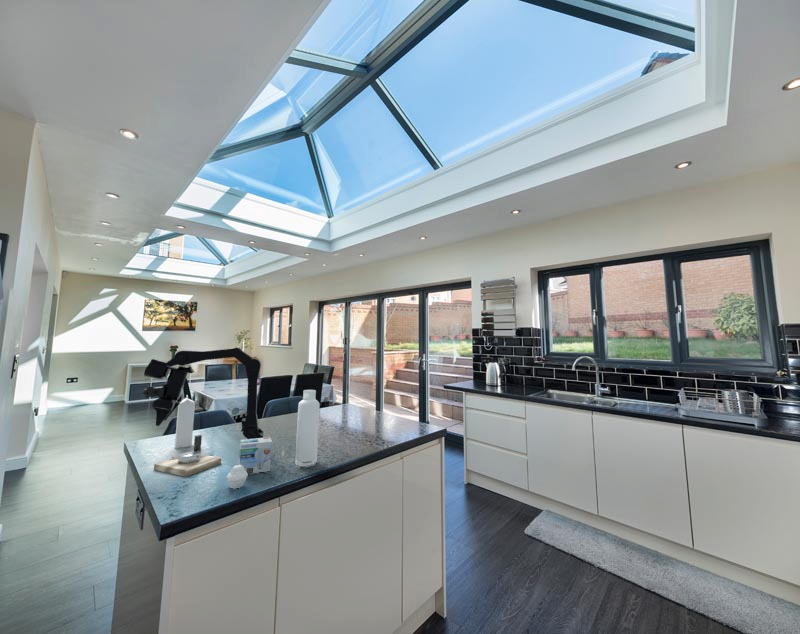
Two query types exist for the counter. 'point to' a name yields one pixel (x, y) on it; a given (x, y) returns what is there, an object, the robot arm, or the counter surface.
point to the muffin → (237, 476)
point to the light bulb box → (255, 454)
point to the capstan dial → (193, 455)
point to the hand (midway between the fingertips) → (160, 422)
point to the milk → (185, 423)
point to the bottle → (307, 429)
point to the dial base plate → (187, 465)
